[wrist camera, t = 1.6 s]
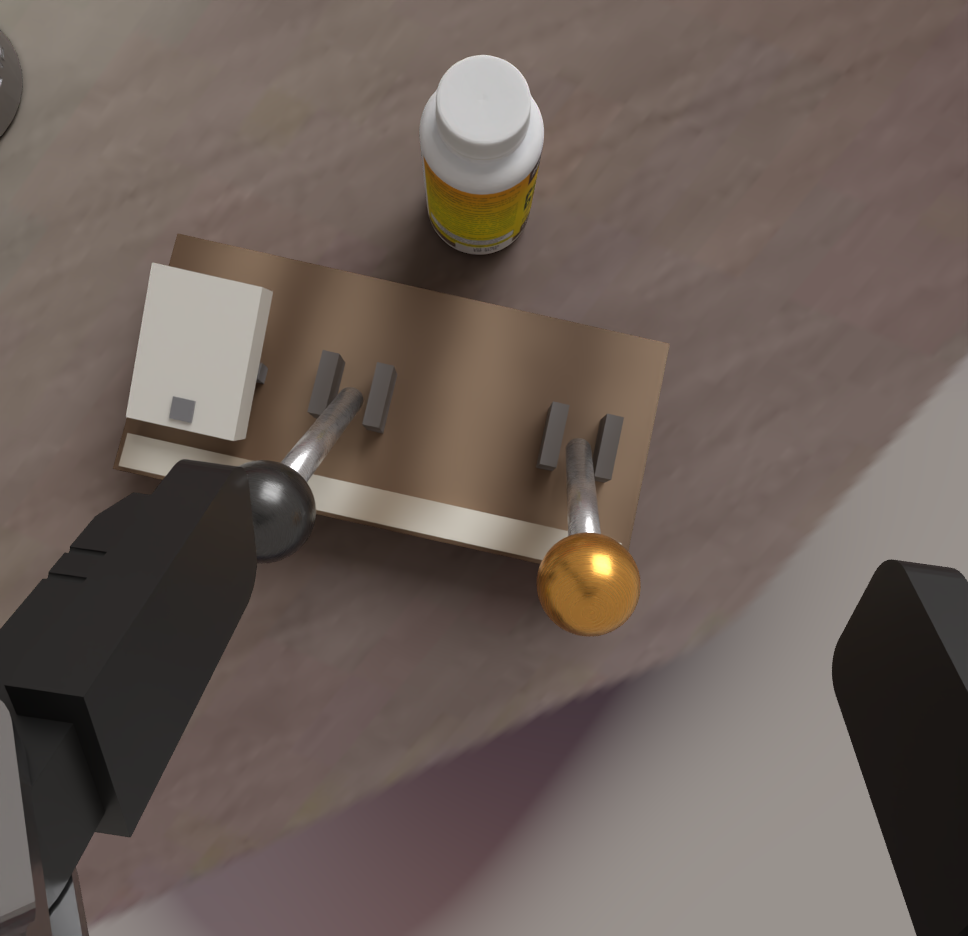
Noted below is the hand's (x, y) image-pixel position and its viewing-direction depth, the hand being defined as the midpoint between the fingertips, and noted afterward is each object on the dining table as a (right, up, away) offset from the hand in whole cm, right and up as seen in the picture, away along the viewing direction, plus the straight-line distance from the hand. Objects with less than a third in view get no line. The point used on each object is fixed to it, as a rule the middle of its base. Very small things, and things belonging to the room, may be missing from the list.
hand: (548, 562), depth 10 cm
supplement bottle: (-1, +15, +32) cm, 35 cm away
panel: (-5, +4, +30) cm, 31 cm away
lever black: (-7, +5, +27) cm, 28 cm away
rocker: (-14, +7, +25) cm, 29 cm away
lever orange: (+4, +2, +27) cm, 27 cm away
